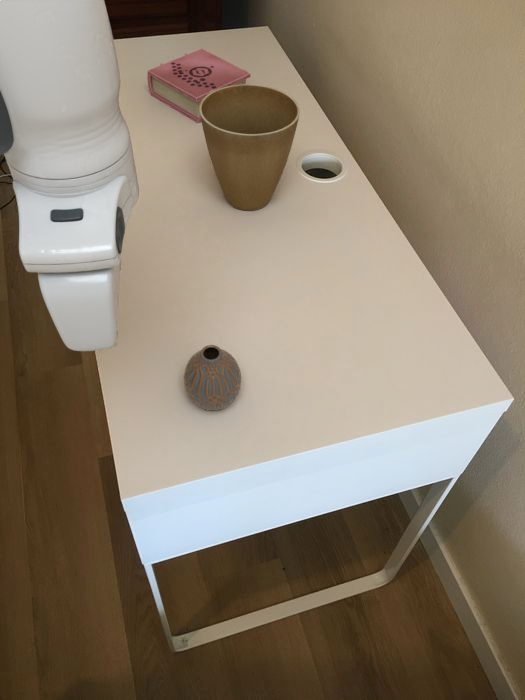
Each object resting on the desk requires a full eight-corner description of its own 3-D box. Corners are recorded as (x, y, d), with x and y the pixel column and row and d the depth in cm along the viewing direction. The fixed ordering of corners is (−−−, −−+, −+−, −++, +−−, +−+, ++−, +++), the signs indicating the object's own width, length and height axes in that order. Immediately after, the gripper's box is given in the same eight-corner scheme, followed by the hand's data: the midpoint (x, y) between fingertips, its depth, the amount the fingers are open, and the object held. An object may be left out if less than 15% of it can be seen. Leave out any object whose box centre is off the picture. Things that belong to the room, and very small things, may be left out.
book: (200, 70, 124) (199, 47, 120) (250, 97, 118) (250, 73, 114) (148, 93, 117) (144, 69, 113) (197, 123, 111) (196, 98, 107)
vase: (245, 414, 71) (246, 372, 64) (190, 423, 70) (184, 381, 63) (235, 369, 75) (235, 325, 68) (182, 377, 74) (177, 334, 67)
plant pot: (308, 208, 96) (319, 119, 84) (230, 236, 91) (229, 145, 78) (263, 162, 104) (267, 74, 91) (189, 185, 99) (182, 96, 86)
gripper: (49, 107, 49) (84, 232, 60) (14, 273, 37) (66, 393, 48) (124, 104, 50) (145, 229, 61) (114, 267, 37) (143, 387, 48)
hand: (110, 302), depth 54 cm, fingers open, 8 cm apart
